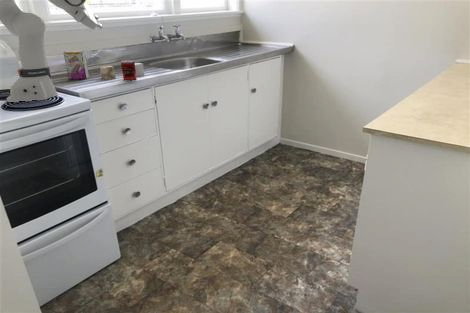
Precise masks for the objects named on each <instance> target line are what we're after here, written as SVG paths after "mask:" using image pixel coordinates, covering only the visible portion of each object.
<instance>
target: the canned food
mask: <svg viewBox="0 0 470 313" xmlns="http://www.w3.org/2000/svg"><path fill="white" fill-rule="evenodd" d="M135 63H136V62H135V60H134V59H133V60H132V59H127V60H126V59H125V60H121V61H120V65H121V71H122V79H123V81H124V80H134V81H137V76H136V70H135Z"/></svg>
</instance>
